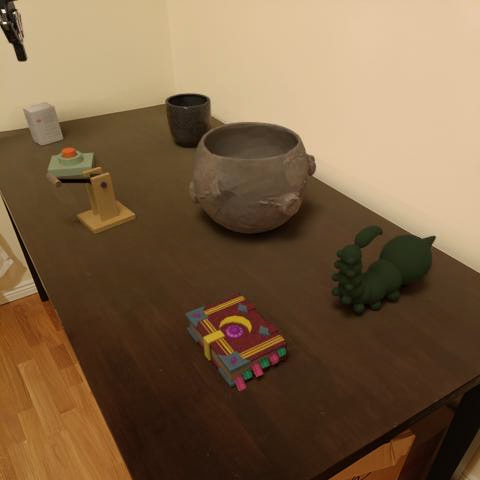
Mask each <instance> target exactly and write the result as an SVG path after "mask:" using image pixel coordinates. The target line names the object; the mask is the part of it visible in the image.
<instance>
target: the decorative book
mask: <svg viewBox="0 0 480 480" xmlns="http://www.w3.org/2000/svg"><path fill="white" fill-rule="evenodd" d="M185 318H186V320H188V322H189V324H190V325H189V326H187V327H186V331H187V332H188V333H189V335H190V336H191V337H192V338H193V340H194V341H195V343H196V344H198V345H199V346H200V347H201V349H202V350H203V351H204V356H205V358H206V359H207V360H208V361H211V362H212V363H213V364H214V366H215V367H216V368H217V371H218V373H219V374H220V375H221V377H222V378H223V380H224V381H225V382H226V384H227V385H228V386H229V387H230V388H232V387H235V386H236V388H237V390H238V391H239V392H241V391H243V390H245V389H247V385H246V384H245V381H246V380H249V379H251V378H253V376H254V375H255V376H256V378H258V377H259V376H262V375H264V372H263V371H264V370H265V369H267V368H270V367H271V366H274V365H275V364H277V363H279V362H281V361H284V360H285V359H286V358H287V353H288V344H289V343H288V342H287V341H286V339H284V337H283V336H282V335H281V334H280V333H279V329H278V328H277V327H276V325H274V324H273V322H268V321H267V320H266V319H265V318H264V317H263V316H262V314H260V313H259V312H258V310H257V306H256V305H255V304H254V303H253V302H252V301H251V300H247V299H246V298H245V297H244V296H243V295H242V294H241V293H237V294H234V295H232V296H229V297H227V298H224V299H221V300H219V301H217V302H215V303H212V304H209V305H207V306H205V305H203V306H201V307H199V308H196V309H194V310H191V311H189V312H186V313H185Z"/></svg>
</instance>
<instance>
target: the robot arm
mask: <svg viewBox="0 0 480 480" xmlns="http://www.w3.org/2000/svg"><path fill="white" fill-rule="evenodd" d="M17 1H18V0H0V29H1V31H2V32H3V34H4V37H5V38H6V40H7V42H8V44H11V45H12V47H13V50H14V53H15V56H16V60H17V62H21V63H22V62H27V61H28V56H27V52H26V48H25V46H24V41H25V40H24V39H25V34H24V27H23V22H22V15H21V13H20V12H19V9H18V8H16V5H15V2H17Z"/></svg>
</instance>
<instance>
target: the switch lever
mask: <svg viewBox="0 0 480 480" xmlns="http://www.w3.org/2000/svg"><path fill="white" fill-rule="evenodd" d="M98 175H101V174H90V177H83V176H82V177H81V176H62V177H55V176H53V175H52V174H51V173H48V172H47V173H46V174H45V178H46V180H48V181H49V183H51V184H52V185H53V186H54V187H55V188H61V187H62V185H63V184H85V183H90V184H91V180H90V178H92V177H95V176H98ZM91 185H92V184H91Z"/></svg>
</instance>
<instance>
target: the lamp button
mask: <svg viewBox="0 0 480 480" xmlns="http://www.w3.org/2000/svg"><path fill="white" fill-rule="evenodd" d="M75 151H76V149H75V148H74V147H65V148H62V149H61V153H62V154H63V157H64V158H72V157H75V156H76V152H75Z"/></svg>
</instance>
